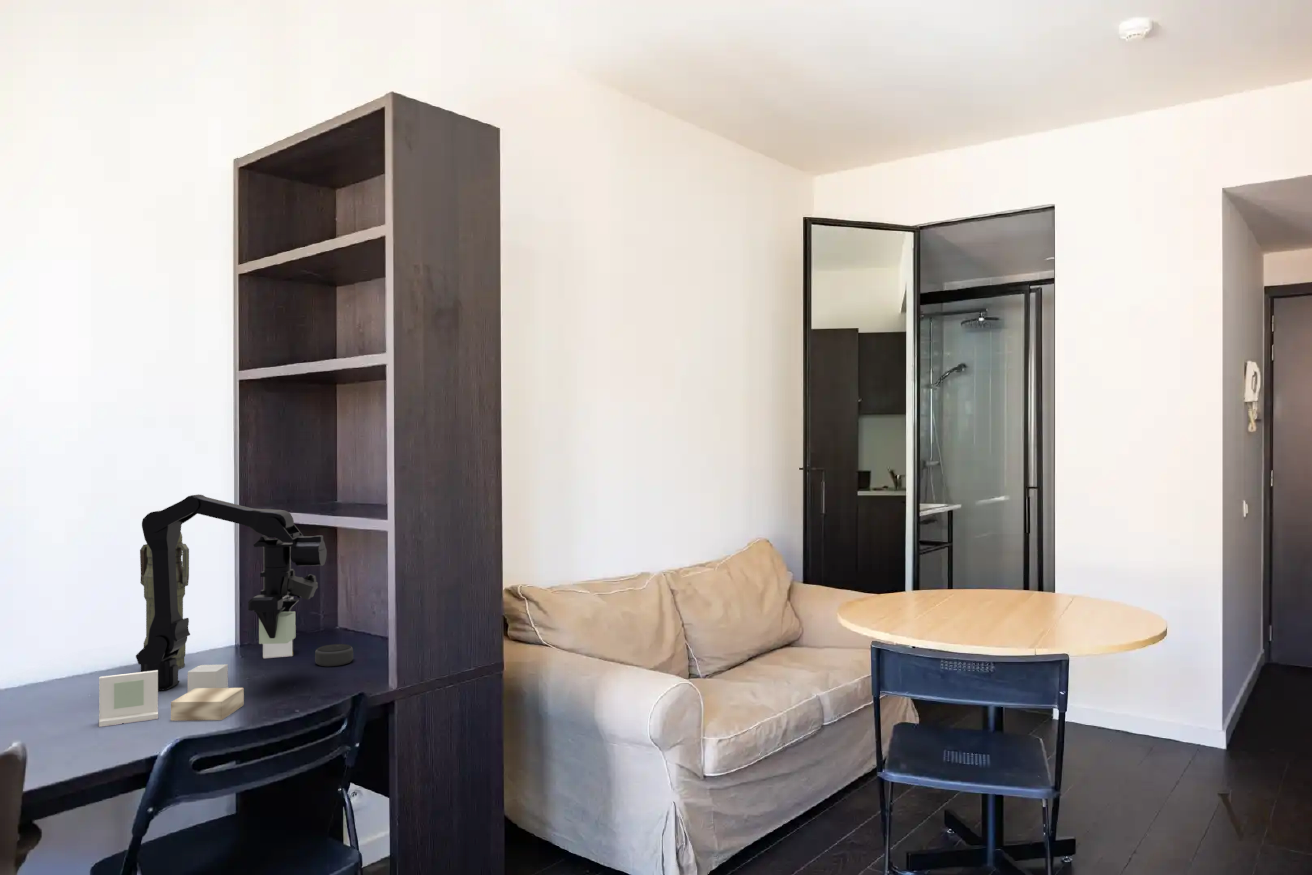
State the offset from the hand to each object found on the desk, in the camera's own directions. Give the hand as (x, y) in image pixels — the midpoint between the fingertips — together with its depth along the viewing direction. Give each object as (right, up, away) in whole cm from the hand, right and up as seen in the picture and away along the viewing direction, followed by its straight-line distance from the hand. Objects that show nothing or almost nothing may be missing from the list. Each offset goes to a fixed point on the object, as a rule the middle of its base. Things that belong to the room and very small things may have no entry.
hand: (277, 635), depth 203 cm
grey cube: (-12, -11, -8) cm, 18 cm away
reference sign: (-19, -11, -25) cm, 33 cm away
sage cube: (0, -1, 0) cm, 1 cm away
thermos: (-34, -12, +16) cm, 39 cm away
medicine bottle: (-12, -12, +29) cm, 34 cm away
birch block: (-5, -12, -21) cm, 24 cm away
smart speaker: (+6, -12, +21) cm, 24 cm away
